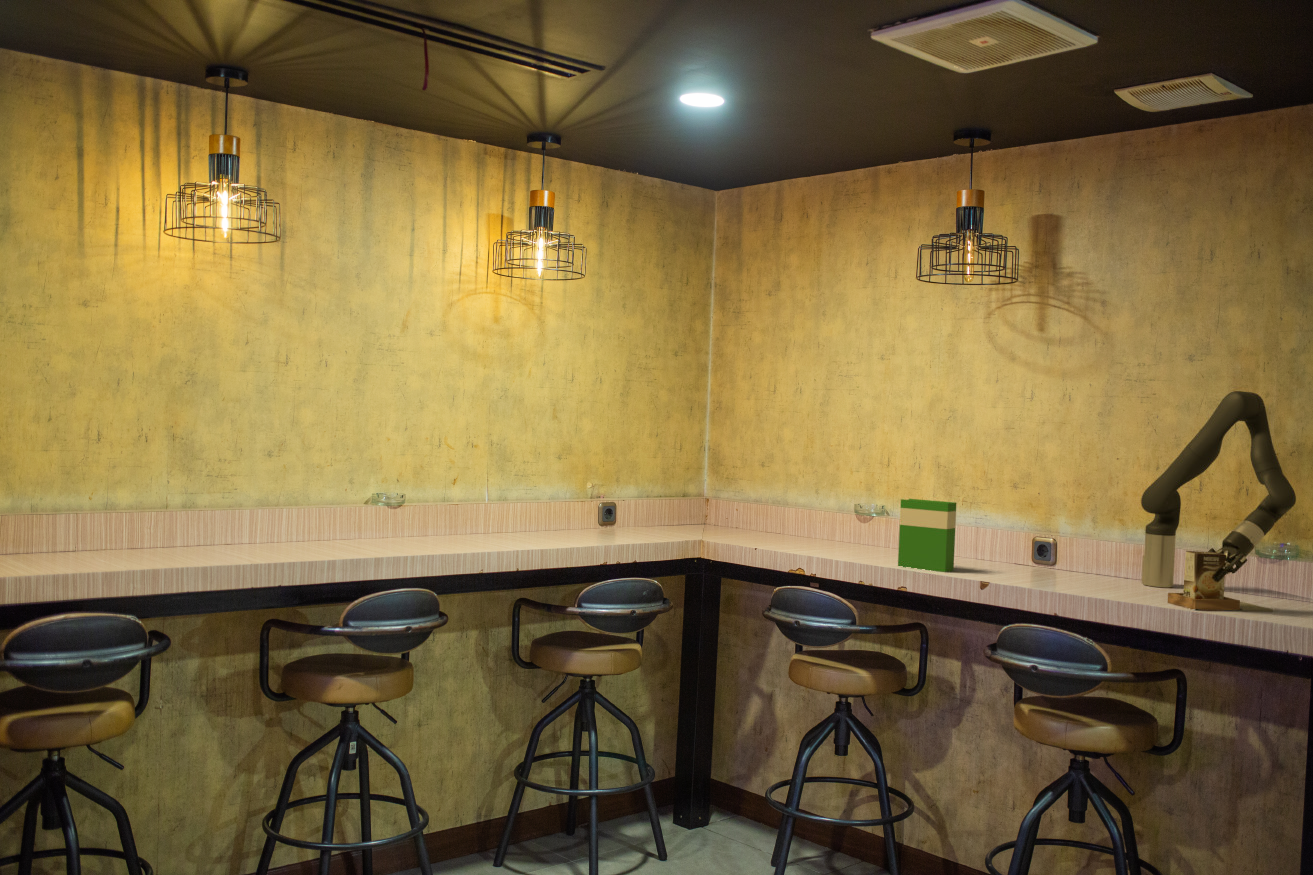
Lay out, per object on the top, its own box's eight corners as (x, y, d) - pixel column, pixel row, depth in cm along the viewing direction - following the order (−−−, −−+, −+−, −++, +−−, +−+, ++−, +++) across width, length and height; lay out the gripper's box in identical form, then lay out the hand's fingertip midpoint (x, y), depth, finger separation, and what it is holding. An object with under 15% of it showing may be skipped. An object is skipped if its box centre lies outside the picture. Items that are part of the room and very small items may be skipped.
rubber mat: (1212, 602, 324) (1212, 601, 324) (1241, 603, 326) (1241, 601, 326) (1242, 610, 312) (1242, 609, 312) (1273, 611, 313) (1273, 609, 313)
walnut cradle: (1167, 602, 322) (1168, 592, 322) (1210, 603, 324) (1211, 593, 324) (1194, 610, 309) (1195, 599, 309) (1239, 610, 312) (1239, 600, 312)
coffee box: (1193, 607, 313) (1196, 553, 313) (1182, 604, 320) (1184, 550, 320) (1224, 608, 314) (1226, 554, 314) (1212, 605, 320) (1214, 551, 320)
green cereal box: (897, 566, 382) (900, 499, 382) (906, 564, 388) (909, 498, 387) (945, 572, 371) (948, 503, 371) (953, 570, 377) (956, 502, 377)
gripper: (1219, 527, 325) (1182, 565, 323) (1253, 532, 311) (1215, 572, 309) (1233, 545, 326) (1197, 583, 324) (1268, 551, 312) (1230, 590, 310)
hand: (1206, 577), depth 317 cm, fingers closed on coffee box, 7 cm apart
